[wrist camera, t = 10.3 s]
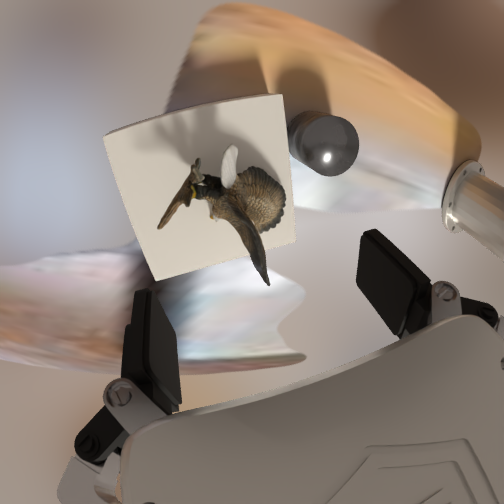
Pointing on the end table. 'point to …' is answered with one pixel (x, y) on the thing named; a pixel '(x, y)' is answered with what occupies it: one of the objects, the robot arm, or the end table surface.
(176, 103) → the end table surface
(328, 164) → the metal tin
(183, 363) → the end table surface
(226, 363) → the end table surface
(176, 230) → the white slab
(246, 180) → the eagle figurine
